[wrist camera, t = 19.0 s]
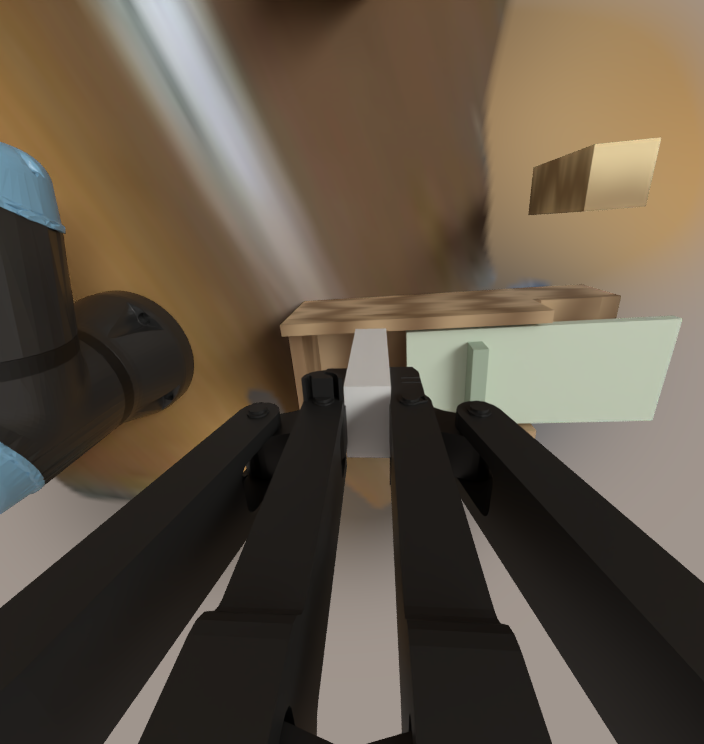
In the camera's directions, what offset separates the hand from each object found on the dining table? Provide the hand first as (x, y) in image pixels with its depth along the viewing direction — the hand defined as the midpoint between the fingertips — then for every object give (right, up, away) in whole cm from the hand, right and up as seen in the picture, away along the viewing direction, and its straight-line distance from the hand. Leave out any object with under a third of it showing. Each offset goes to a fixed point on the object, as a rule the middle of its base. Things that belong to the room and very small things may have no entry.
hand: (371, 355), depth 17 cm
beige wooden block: (+18, +16, +15) cm, 28 cm away
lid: (+15, -1, +14) cm, 20 cm away
